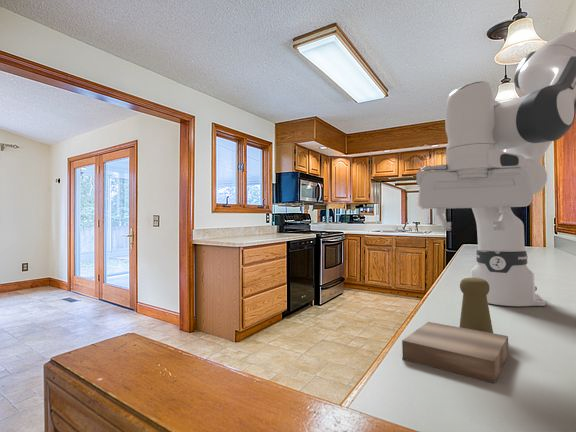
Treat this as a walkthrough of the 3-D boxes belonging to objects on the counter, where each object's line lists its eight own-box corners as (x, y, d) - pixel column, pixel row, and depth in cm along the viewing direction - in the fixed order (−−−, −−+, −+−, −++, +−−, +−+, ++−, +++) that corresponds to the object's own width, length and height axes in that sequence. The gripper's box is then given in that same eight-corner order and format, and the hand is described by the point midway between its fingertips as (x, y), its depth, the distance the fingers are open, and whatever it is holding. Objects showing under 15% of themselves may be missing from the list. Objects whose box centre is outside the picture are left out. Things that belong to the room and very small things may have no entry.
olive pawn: (499, 338, 61) (497, 281, 62) (464, 337, 62) (462, 280, 63) (486, 328, 67) (484, 276, 67) (455, 327, 68) (453, 275, 69)
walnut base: (428, 337, 63) (428, 321, 63) (508, 353, 54) (507, 336, 54) (402, 358, 53) (402, 340, 53) (495, 383, 44) (494, 361, 44)
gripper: (417, 163, 66) (418, 231, 65) (535, 156, 60) (537, 230, 59) (414, 168, 72) (416, 230, 72) (521, 162, 66) (524, 229, 65)
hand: (472, 230), depth 65 cm, fingers open, 8 cm apart
